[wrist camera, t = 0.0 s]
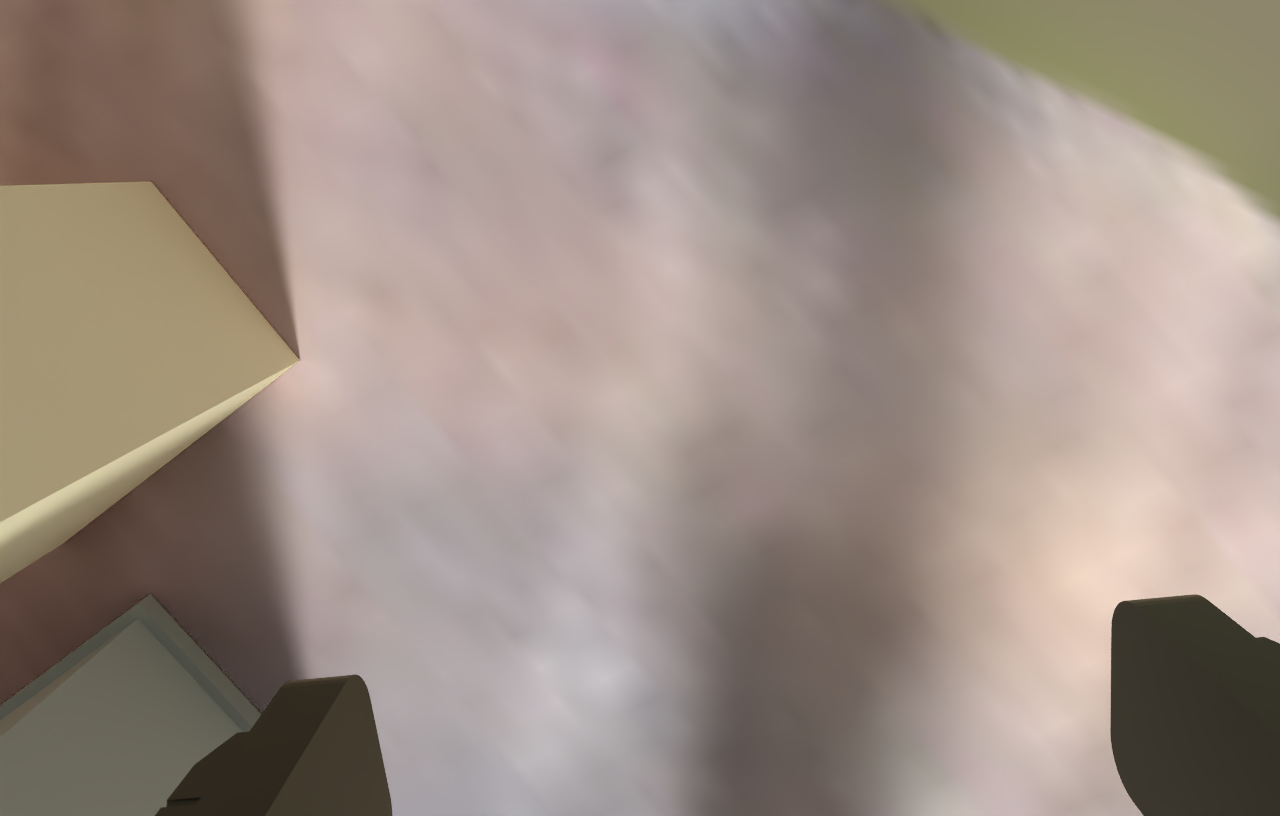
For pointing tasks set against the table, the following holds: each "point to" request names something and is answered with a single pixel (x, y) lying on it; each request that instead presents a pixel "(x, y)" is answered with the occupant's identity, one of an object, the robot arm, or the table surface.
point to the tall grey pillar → (117, 722)
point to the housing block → (109, 353)
